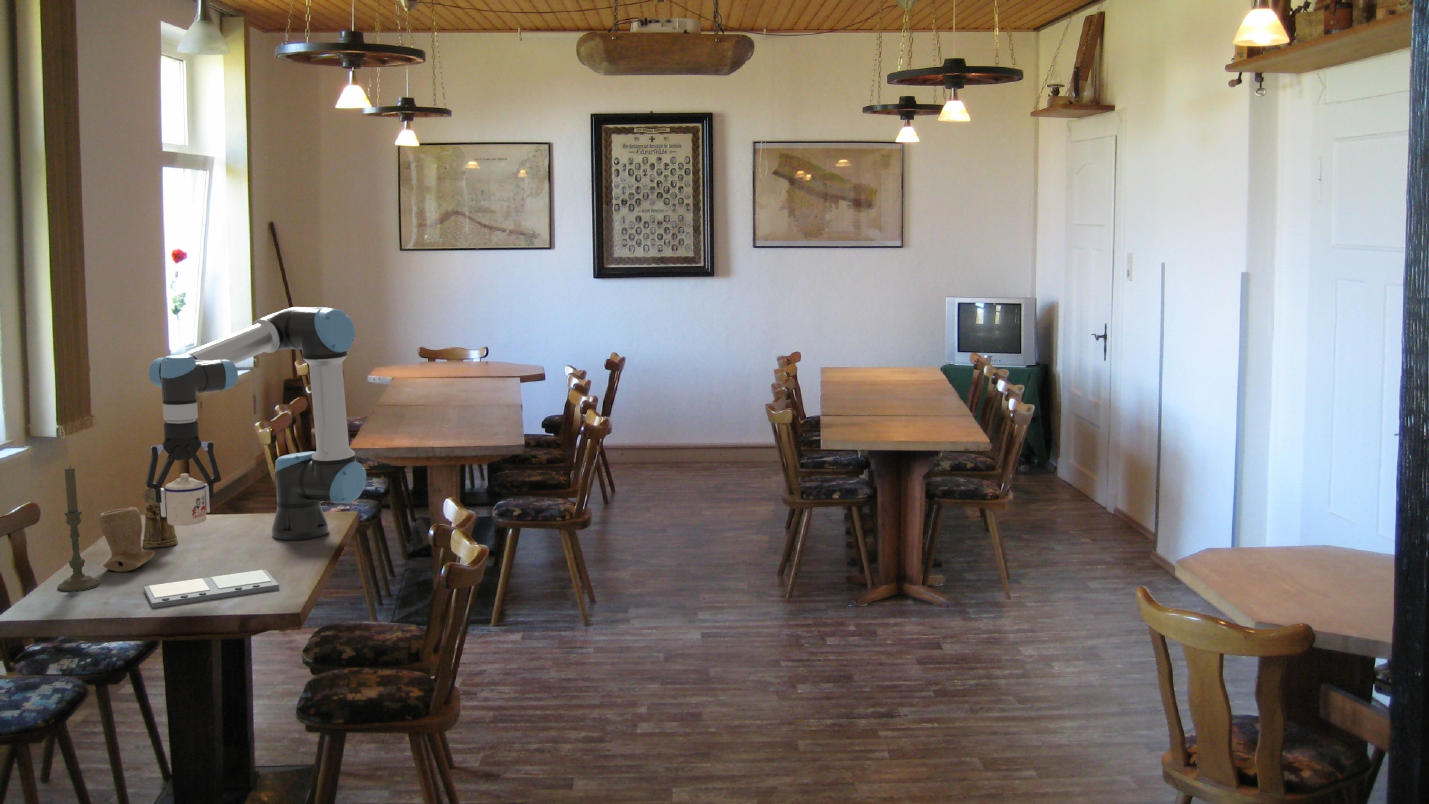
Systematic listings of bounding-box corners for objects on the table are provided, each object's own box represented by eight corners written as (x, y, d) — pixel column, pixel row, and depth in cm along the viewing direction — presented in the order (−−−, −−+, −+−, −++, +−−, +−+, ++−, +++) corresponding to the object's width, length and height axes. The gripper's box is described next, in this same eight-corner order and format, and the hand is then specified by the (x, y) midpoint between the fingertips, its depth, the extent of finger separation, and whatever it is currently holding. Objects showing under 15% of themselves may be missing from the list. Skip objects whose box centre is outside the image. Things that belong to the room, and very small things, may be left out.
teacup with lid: (200, 526, 290) (197, 477, 289) (160, 526, 290) (157, 478, 288) (216, 514, 302) (214, 467, 301) (178, 515, 301) (175, 468, 300)
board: (265, 574, 309) (265, 568, 309) (279, 589, 297) (278, 583, 296) (144, 591, 295) (143, 585, 295) (152, 608, 282) (152, 602, 282)
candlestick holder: (102, 587, 298) (93, 465, 294) (60, 594, 293) (50, 470, 288) (96, 578, 305) (87, 460, 301) (54, 585, 300) (45, 464, 296)
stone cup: (113, 558, 324) (109, 502, 322) (160, 557, 325) (156, 501, 323) (90, 574, 309) (86, 516, 307) (140, 573, 310) (135, 515, 308)
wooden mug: (139, 554, 328) (135, 488, 325) (143, 542, 341) (139, 478, 338) (176, 551, 331) (171, 485, 328) (178, 539, 344) (174, 476, 341)
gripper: (226, 415, 301) (230, 505, 304) (128, 421, 290) (133, 515, 293) (232, 419, 295) (236, 511, 298) (132, 426, 283) (137, 521, 286)
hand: (185, 513), depth 295 cm, fingers closed on teacup with lid, 9 cm apart
